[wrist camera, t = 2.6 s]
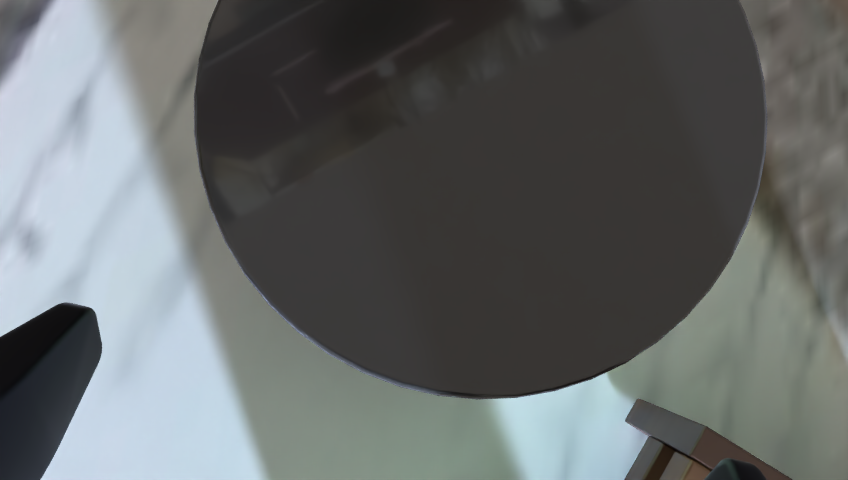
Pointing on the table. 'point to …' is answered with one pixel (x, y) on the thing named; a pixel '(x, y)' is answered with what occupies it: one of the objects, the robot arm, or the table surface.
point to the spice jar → (481, 176)
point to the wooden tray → (682, 447)
